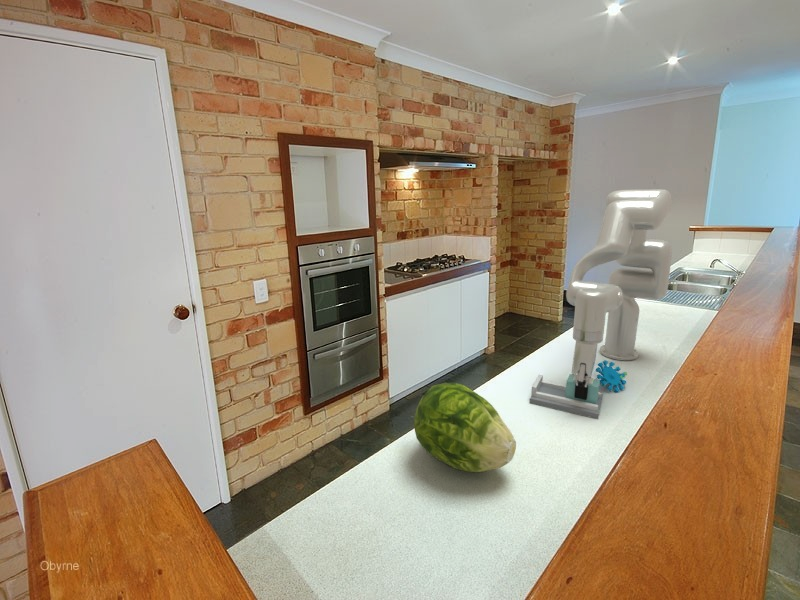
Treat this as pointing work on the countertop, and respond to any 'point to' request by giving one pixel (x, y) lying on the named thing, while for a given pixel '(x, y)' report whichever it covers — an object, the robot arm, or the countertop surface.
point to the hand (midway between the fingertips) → (582, 392)
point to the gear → (611, 376)
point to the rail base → (562, 399)
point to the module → (592, 389)
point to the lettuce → (462, 429)
